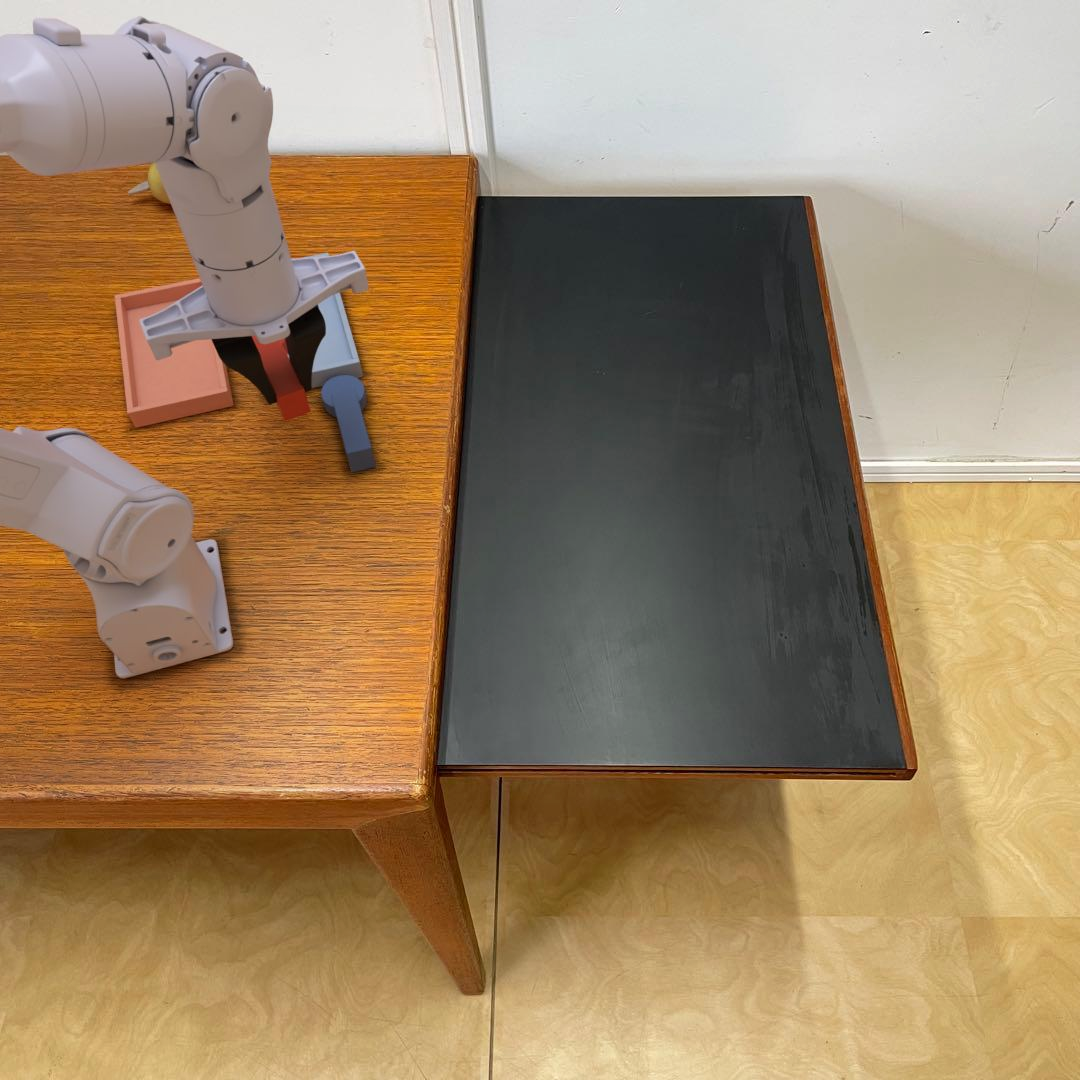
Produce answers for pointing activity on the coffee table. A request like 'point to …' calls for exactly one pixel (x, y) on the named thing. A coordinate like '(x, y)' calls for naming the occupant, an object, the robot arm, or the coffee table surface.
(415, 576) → the coffee table surface
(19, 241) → the coffee table surface
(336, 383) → the blue spoon
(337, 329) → the blue tray
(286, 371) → the red spoon
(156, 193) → the fruit
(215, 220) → the robot arm
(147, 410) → the rose tray
